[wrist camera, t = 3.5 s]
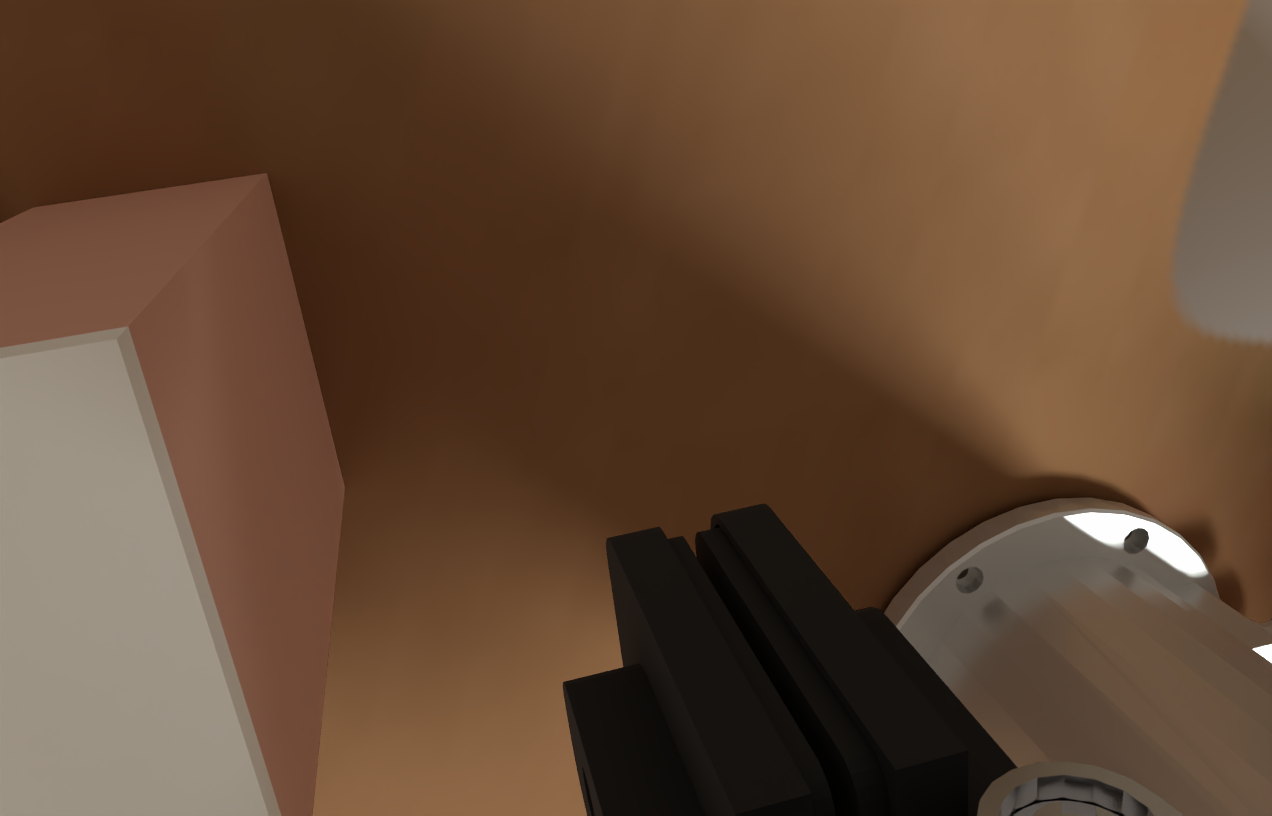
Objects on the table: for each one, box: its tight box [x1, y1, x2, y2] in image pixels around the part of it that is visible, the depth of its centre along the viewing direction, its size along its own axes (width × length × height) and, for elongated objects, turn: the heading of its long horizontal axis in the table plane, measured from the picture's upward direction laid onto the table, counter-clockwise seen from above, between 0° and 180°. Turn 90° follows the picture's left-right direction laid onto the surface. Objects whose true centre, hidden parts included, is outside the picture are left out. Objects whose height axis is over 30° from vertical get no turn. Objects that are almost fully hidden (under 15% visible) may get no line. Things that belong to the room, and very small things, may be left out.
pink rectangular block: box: [0, 173, 345, 816], centre depth 18 cm, size 5×8×14 cm, turn 7°
